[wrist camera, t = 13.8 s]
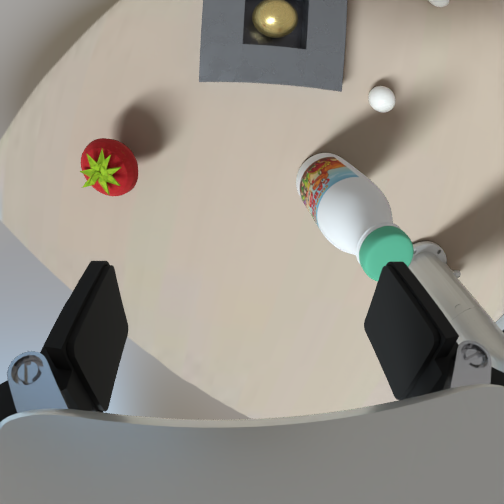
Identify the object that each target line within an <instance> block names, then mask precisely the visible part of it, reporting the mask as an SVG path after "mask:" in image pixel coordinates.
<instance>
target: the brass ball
mask: <svg viewBox="0 0 504 504" xmlns="http://www.w3.org/2000/svg"><path fill="white" fill-rule="evenodd" d="M252 20H253V24H254V26H255V28H256V29H257V30H258V31H259V32H260V33H261V34H263V35H265V36H268V37H272V38H280V37H284V36H286V35H288V34H290V33H291V32H292V31H293V30H294V29H295V28H296V26H297V23H298V14H297V11H296V9H295V8H294V7H293V6H292V5H291V4H290V3H289V2H287V1H285V0H264V1H262V2H260V3H259V4H258V5H257V6H256V7H255V9H254V11H253V14H252Z"/></svg>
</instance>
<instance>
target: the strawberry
mask: <svg viewBox="0 0 504 504" xmlns="http://www.w3.org/2000/svg"><path fill="white" fill-rule="evenodd" d="M81 168H82V171H80V172H82V173H83V174H84V176H85V178H86V180H87V182H86V183H85V184H84V186H83V187H87V186H92V187H93V188H95V189H96V190H97V191H99V192H101V193H103V194H105V195H109V196H120V195H123V194H125V193H127V192H129V191H130V190H132V189H133V188H134V186H135V185H136V182H137V179H138V164H137V161H136V158H135V156H134V154H133V153H132V151H131V150H130V149H129V148H128V147H127V146H126V145H124V144H123V143H121V142H119V141H116V140H112V139H105V138H102V139H97V140H94V141H92V142H91V143H90V144H89V145H88V146H87V147H86V148H85V150H84V152H83V153H82V157H81ZM83 187H82V188H83Z"/></svg>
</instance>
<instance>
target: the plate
mask: <svg viewBox="0 0 504 504" xmlns="http://www.w3.org/2000/svg"><path fill="white" fill-rule="evenodd" d="M262 1H264V0H203V12H202V28H201V47H200V71H199V82H247V83H266V84H280V85H291V86H301V87H310V88H318V89H326V90H333V91H341V92H342V80H343V68H344V54H345V38H346V18H347V0H285V1H287V2H289V3H290V4H291V5H292V6H293V7H294V8H295V9H296V11H297V14H298V23H297V26H296V28H295V29H294V30H293V31H292V32H291V33H290V34H288V35H286V36H284V37H280V38H272V37H268V36H265V35H263V34H261V33H260V32H259V31H258V30H257V29H256V28H255V26H254V24H253V20H252V14H253V11H254V9H255V7H256V6H257V5H258V4H259V3H260V2H262Z"/></svg>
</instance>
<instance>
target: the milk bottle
mask: <svg viewBox="0 0 504 504" xmlns="http://www.w3.org/2000/svg"><path fill="white" fill-rule="evenodd" d="M296 186H297V191H298V193H299V195H300V197H301V199H302V201H303V202H304V204H305V206H306V207H307V209H308V211H309V212H310V214H311V216H312V217H313V219H314V221H315V222H316V224H317V226H318V227H319V229H320V230H321V232H322V233H323V234H324V236H325V237H326V238H327V239H328V240H329V241H330V242H331V243H332V244H333V245H334V246H336V247H337V248H339V249H340V250H342V251H344V252H347V253H350V254H354V255H356V257H357V260H358V262H359V263H360V264H361V266H362V268H363V270H364V271H365V273H366V274H367V275H368V276H369V277H370V278H371V279H373V280H375V281H378V280H379V277H380V274H381V270H382V268H383V266H386V264H387V263H388V262H404V263H405V264H406V265H407V266H408V267H409V265H410V263H411V261H412V258H413V253H414V249H413V244H412V242H411V240H410V238H409V237H408V236H407V235H406V234H405V233H404V232H403V231H402V230H401V229H400V228H399V227H398V226H397V225H396V224H393V220H392V212H391V208H390V205H389V202H388V200H387V198H386V197H385V195H384V194H383V192H382V191H381V190H380V189H379V188H378V187H377V186H376V185H375V184H374V183H373V182H372V181H371V180H370V179H369V178H367V177H366V176H365V175H364V174H362V173H361V172H360V171H359V170H357V169H356V168H355V167H353V166H352V165H351V164H349V163H348V162H347V161H345V160H344V159H342V158H341V157H339V156H337V155H335V154H332V153H320V154H316V155H314V156H312V157H310V158H309V159H307V160H306V161H305V162H304V163H303V164H302V166H301V167H300V169H299V171H298V174H297V178H296Z"/></svg>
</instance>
